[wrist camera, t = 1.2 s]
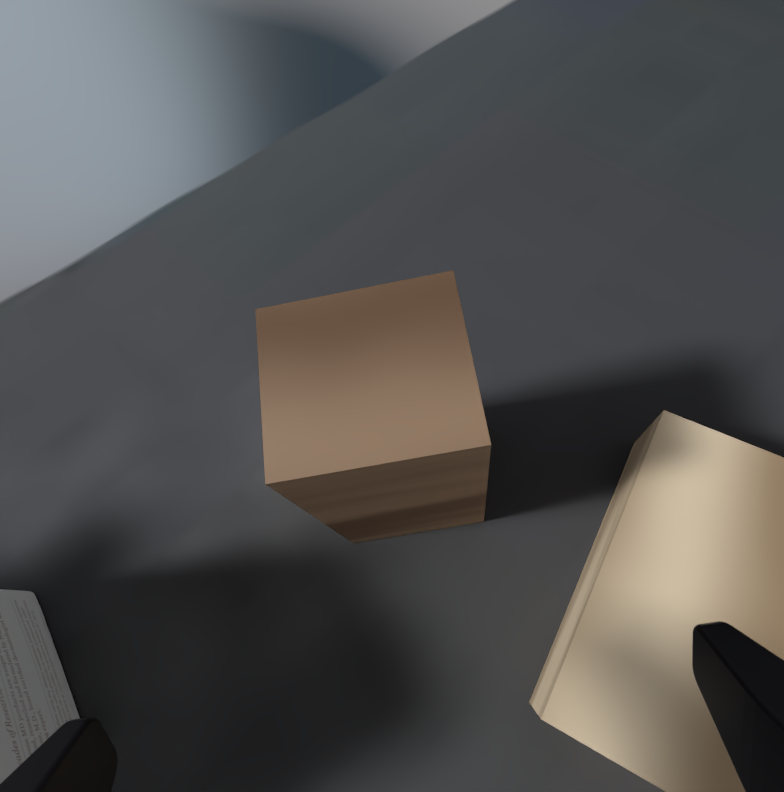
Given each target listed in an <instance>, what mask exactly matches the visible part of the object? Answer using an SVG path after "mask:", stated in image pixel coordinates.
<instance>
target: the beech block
mask: <svg viewBox="0 0 784 792" xmlns="http://www.w3.org/2000/svg"><path fill="white" fill-rule="evenodd" d="M717 621H722V622H726V623H728V624H730V625H731V626H733V627H735V628H736V629H738V630H739V631H741V632H742V633H744V634H745V635H747V636H748V637H750V638H751V639H753V640H754V641H756V642H757V643H759V644H760V645H762V646H763V647H765V648H766V649H768V650H769V651H771V652H772V653H774V654H775V655H777V656H778V657H780V658H781V659H783V660H784V457H781V456H778V455H776V454H773V453H771V452H768V451H766V450H763V449H761V448H758V447H756V446H753V445H751V444H748V443H746V442H743V441H741V440H738V439H736V438H733V437H731V436H728V435H725V434H723V433H720V432H718V431H715V430H713V429H710V428H708V427H705V426H703V425H700V424H698V423H695V422H693V421H690V420H688V419H685V418H683V417H680V416H678V415H675V414H673V413H670V412H667V411H665V410H663V411H662V413H661V414H660V415H659V416H658V417H657V418H656V419H655V420H654V421H653V423H652V424H651V425H650V426H649V427H648V428H647V429H646V430H645V432H644V433H643V434H642V435H641V436H640V437H639V438H638V439H637V441H636V442H635V443H634V445H633V447H632V450H631V452H630V455H629V457H628V460H627V462H626V465H625V467H624V470H623V472H622V475H621V477H620V479H619V482H618V484H617V487H616V489H615V492H614V494H613V497H612V499H611V502H610V504H609V507H608V509H607V512H606V514H605V516H604V519H603V521H602V524H601V526H600V529H599V531H598V534H597V536H596V539H595V541H594V544H593V546H592V549H591V551H590V554H589V556H588V558H587V561H586V563H585V566H584V568H583V571H582V573H581V576H580V578H579V581H578V583H577V586H576V588H575V591H574V593H573V595H572V598H571V600H570V603H569V605H568V608H567V610H566V613H565V615H564V618H563V620H562V623H561V625H560V628H559V630H558V633H557V635H556V637H555V640H554V642H553V645H552V647H551V650H550V652H549V655H548V657H547V660H546V662H545V665H544V667H543V670H542V672H541V674H540V677H539V679H538V682H537V684H536V687H535V689H534V692H533V694H532V697H531V699H530V702H529V703H530V704H531V706H532V707H533V708H534V710H535V711H536V713H537V714H538V715H539V717H540V718H541V719H542V720H543V721H545V722H547V723H548V724H550V725H552V726H554V727H555V728H557V729H559V730H561V731H562V732H564V733H566V734H567V735H569V736H571V737H573V738H574V739H576V740H578V741H579V742H581V743H583V744H585V745H586V746H588V747H590V748H592V749H593V750H595V751H597V752H598V753H600V754H602V755H604V756H605V757H607V758H609V759H610V760H612V761H614V762H616V763H617V764H619V765H621V766H622V767H624V768H626V769H628V770H629V771H631V772H633V773H635V774H636V775H638V776H640V777H641V778H643V779H645V780H647V781H648V782H650V783H652V784H653V785H655V786H657V787H659V788H660V789H662V790H664V791H665V792H746V791H745V789H744V787H743V785H742V783H741V781H740V779H739V776H738V774H737V772H736V770H735V768H734V765H733V763H732V761H731V759H730V756H729V754H728V752H727V750H726V747H725V745H724V743H723V741H722V739H721V736H720V734H719V732H718V730H717V727H716V725H715V723H714V721H713V719H712V716H711V714H710V712H709V710H708V707H707V705H706V703H705V701H704V698H703V696H702V694H701V692H700V690H699V687H698V685H697V683H696V680H695V677H694V673H693V668H692V642H693V629H694V627H695V626H696V625H698V624H704V623H710V622H717Z"/></svg>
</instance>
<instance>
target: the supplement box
mask: <svg viewBox="0 0 784 792" xmlns="http://www.w3.org/2000/svg"><path fill="white" fill-rule="evenodd" d="M74 719H80V717H79V714H78V711H77V709H76V706H75V703H74V700H73V696H72V694H71V691H70V688H69V686H68V683H67V680H66V677H65V674H64V671H63V668H62V665H61V662H60V660H59V657H58V654H57V652H56V649H55V646H54V643H53V640H52V637H51V635H50V632H49V629H48V627H47V624H46V621H45V618H44V615H43V613H42V610H41V607H40V605H39V603H38V600H37V598H36V596H35V594H34V593H33V592H31V591H21V590H4V589H0V784H1V783H2V782H3V781H4V780H5V779H6V778H7V777H8V776H9V775H10V774H11V773H12V772H13V771H14V770H15V769H16V768H17V767H19V766H20V765H21V764H22V763H23V762H24V761H25V760H26V759H27V758H28V757H29V756H30V755H31V754H32V753H33V752H34V751H35V750H36V749H37V748H39V747H40V746H41V745H42V744H43V743H44V742H45V741H46V740H47V739H48V738H49V737H50V736H51V735H52V734H53V733H54V732H55V731H56V730H57V729H58V728H60V727H61V726H62V725H63V724H64V723H66V722H68V721H70V720H74Z"/></svg>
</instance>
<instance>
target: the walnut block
mask: <svg viewBox="0 0 784 792" xmlns="http://www.w3.org/2000/svg"><path fill="white" fill-rule="evenodd" d="M256 325H257V343H258V361H259V379H260V396H261V414H262V432H263V449H264V467H265V484H266V485H267V486H269V487H270V488H272V489H273V490H275V491H276V492H278V493H279V494H281V495H282V496H284V497H285V498H287V499H288V500H290V501H291V502H293V503H294V504H296V505H297V506H299V507H300V508H302V509H303V510H305V511H306V512H308V513H309V514H311V515H312V516H314V517H315V518H317V519H318V520H320V521H321V522H323V523H324V524H326V525H327V526H329V527H330V528H332V529H333V530H335V531H336V532H338V533H339V534H341V535H342V536H343V537H345V538H346V539H348V540H349V541H351V542H352V543H358V542H364V541H370V540H376V539H382V538H389V537H395V536H401V535H407V534H413V533H419V532H425V531H431V530H437V529H443V528H449V527H455V526H461V525H467V524H473V523H479V522H484V515H485V505H486V494H487V484H488V473H489V463H490V453H491V441H490V437H489V432H488V428H487V423H486V419H485V414H484V409H483V405H482V400H481V396H480V391H479V386H478V382H477V377H476V373H475V368H474V364H473V359H472V354H471V350H470V345H469V341H468V336H467V331H466V327H465V322H464V318H463V313H462V308H461V304H460V299H459V295H458V290H457V286H456V281H455V276H454V272H453V271H448V272H443V273H438V274H433V275H428V276H423V277H418V278H413V279H408V280H402V281H397V282H392V283H387V284H382V285H377V286H372V287H367V288H362V289H357V290H352V291H347V292H341V293H336V294H331V295H326V296H321V297H316V298H311V299H306V300H301V301H296V302H291V303H286V304H280V305H275V306H270V307H265V308H260V309H256Z"/></svg>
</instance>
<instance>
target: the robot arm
mask: <svg viewBox="0 0 784 792" xmlns="http://www.w3.org/2000/svg"><path fill="white" fill-rule="evenodd" d="M692 668H693V673H694V677H695V680H696V683H697V685H698V687H699V690H700V692H701V694H702V696H703V698H704V701H705V703H706V705H707V707H708V710H709V712H710V714H711V716H712V719H713V721H714V723H715V725H716V727H717V730H718V732H719V734H720V736H721V739H722V741H723V743H724V745H725V747H726V750H727V752H728V754H729V756H730V759H731V761H732V763H733V765H734V768H735V770H736V772H737V774H738V776H739V779H740V781H741V783H742V785H743V787H744V789H745V791H746V792H784V660H783V659H781V658H780V657H778V656H777V655H775V654H774V653H772V652H771V651H769V650H768V649H766V648H765V647H763V646H762V645H760V644H759V643H757V642H756V641H754V640H753V639H751V638H750V637H748V636H747V635H745V634H744V633H742V632H741V631H739V630H738V629H736V628H735V627H733V626H731V625H730V624H728V623H726V622H722V621H717V622H710V623H704V624H698V625H696V626H695V627H694V629H693V642H692ZM116 769H117V754H116V750H115V748H114V746H113V744H112V743H111V741H110V739H109V737H108V736H107V734H106V732H105V730H104V729H103V727H102V725H101V723H100V722H99V720H98V719H96V718H94V717H87V718H80V719H74V720H70V721H68V722H66V723H64V724H63V725H62V726H61V727H60V728H58V729H57V730H56V731H55V732H54V733H53V734H52V735H51V736H50V737H49V738H48V739H47V740H46V741H45V742H44V743H43V744H42V745H41V746H40V747H39V748H37V749H36V750H35V751H34V752H33V753H32V754H31V755H30V756H29V757H28V758H27V759H26V760H25V761H24V762H23V763H22V764H21V765H20V766H19V767H17V768H16V769H15V770H14V771H13V772H12V773H11V774H10V775H9V776H8V777H7V778H6V779H5V780H4V781H3V782H2V783H1V784H0V792H111V790H112V786H113V782H114V778H115V773H116Z"/></svg>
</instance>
